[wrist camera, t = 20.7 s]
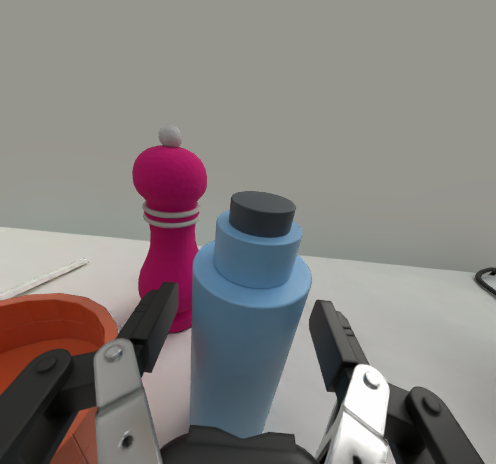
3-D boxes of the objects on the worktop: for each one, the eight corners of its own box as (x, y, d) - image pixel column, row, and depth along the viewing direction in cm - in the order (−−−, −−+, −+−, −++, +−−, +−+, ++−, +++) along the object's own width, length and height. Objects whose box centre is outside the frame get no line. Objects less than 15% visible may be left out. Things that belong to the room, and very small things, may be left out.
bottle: (227, 371, 20) (254, 179, 12) (274, 421, 17) (352, 209, 9) (175, 423, 16) (164, 189, 8) (224, 501, 13) (285, 250, 5)
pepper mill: (165, 284, 29) (156, 121, 20) (215, 297, 28) (228, 132, 19) (127, 327, 22) (89, 114, 14) (190, 346, 21) (192, 129, 13)
